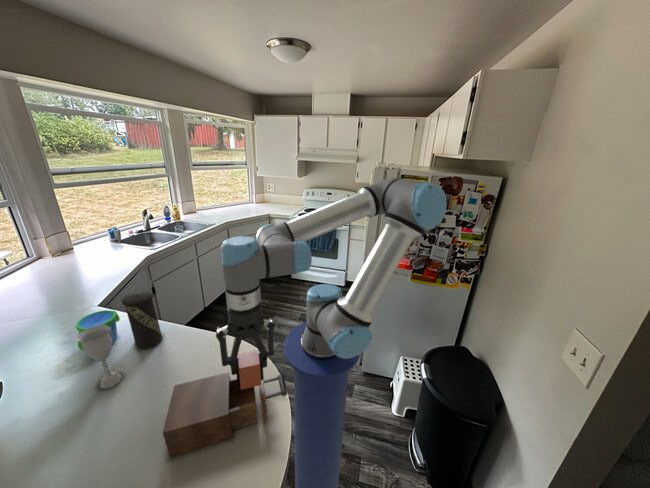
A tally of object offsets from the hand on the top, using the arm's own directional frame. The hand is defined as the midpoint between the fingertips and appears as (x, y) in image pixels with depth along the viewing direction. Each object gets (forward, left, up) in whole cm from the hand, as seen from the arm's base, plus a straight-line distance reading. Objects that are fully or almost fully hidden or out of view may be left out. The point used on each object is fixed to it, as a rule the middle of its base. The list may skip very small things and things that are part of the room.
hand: (250, 378), depth 65 cm
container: (+34, -38, -11) cm, 52 cm away
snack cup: (+49, -42, -11) cm, 66 cm away
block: (0, 0, 0) cm, 0 cm away
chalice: (+40, -22, -11) cm, 47 cm away
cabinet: (+12, 0, -11) cm, 17 cm away
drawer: (0, 0, -10) cm, 10 cm away
